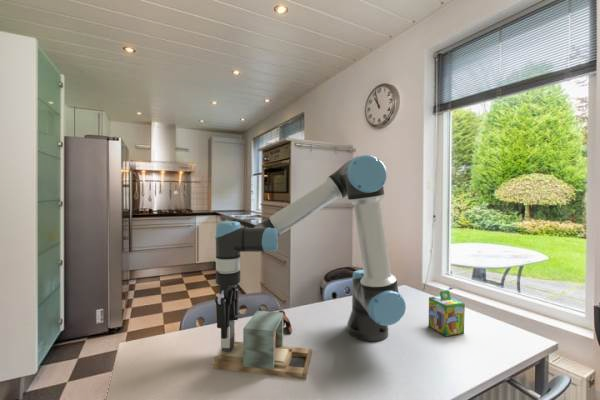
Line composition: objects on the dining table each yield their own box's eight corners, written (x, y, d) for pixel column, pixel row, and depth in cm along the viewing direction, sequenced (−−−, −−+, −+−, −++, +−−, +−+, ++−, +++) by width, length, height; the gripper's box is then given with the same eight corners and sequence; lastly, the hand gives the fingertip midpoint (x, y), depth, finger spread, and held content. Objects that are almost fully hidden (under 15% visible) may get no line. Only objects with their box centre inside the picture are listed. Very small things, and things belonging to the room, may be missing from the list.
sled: (288, 351, 90) (288, 322, 89) (283, 364, 83) (284, 332, 83) (227, 345, 93) (227, 317, 93) (218, 357, 86) (218, 326, 86)
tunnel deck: (311, 353, 91) (312, 314, 91) (305, 379, 79) (306, 334, 78) (230, 345, 96) (230, 308, 96) (212, 368, 83) (212, 325, 83)
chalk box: (445, 337, 103) (446, 297, 102) (427, 326, 112) (428, 288, 111) (465, 333, 106) (466, 294, 105) (445, 322, 114) (446, 286, 114)
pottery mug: (293, 339, 101) (282, 321, 100) (270, 348, 103) (259, 331, 101) (295, 317, 113) (285, 300, 111) (275, 325, 115) (265, 309, 113)
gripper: (227, 263, 97) (227, 330, 98) (204, 277, 81) (204, 357, 82) (248, 264, 96) (248, 332, 97) (228, 278, 80) (228, 360, 81)
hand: (227, 343), depth 89 cm, fingers closed on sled, 3 cm apart
